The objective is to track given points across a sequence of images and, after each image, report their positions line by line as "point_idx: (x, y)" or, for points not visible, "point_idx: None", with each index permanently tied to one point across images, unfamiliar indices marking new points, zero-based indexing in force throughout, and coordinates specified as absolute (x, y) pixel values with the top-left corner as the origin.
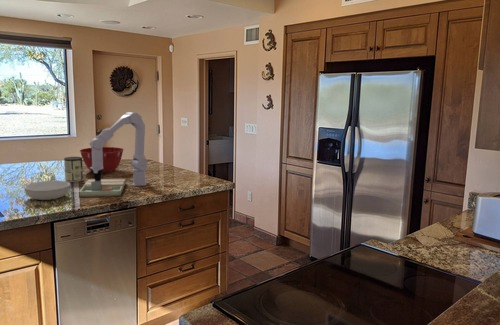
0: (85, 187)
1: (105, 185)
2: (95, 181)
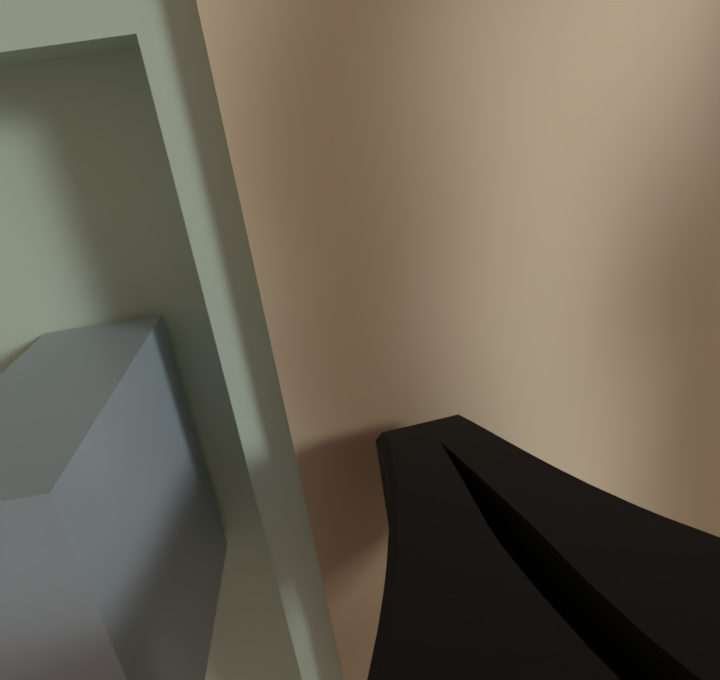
0: (147, 68)
1: (338, 653)
2: (28, 663)
